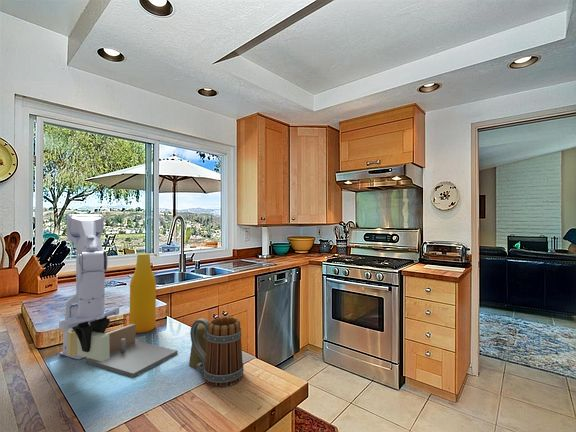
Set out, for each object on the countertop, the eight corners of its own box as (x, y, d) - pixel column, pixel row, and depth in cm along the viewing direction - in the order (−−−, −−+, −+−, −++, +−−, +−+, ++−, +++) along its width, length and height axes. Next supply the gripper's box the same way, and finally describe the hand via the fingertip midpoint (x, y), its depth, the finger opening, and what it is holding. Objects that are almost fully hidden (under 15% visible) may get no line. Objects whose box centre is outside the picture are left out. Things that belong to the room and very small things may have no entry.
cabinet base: (85, 362, 90) (86, 338, 90) (133, 343, 104) (133, 322, 105) (133, 377, 82) (133, 351, 82) (177, 353, 96) (177, 331, 96)
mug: (250, 371, 85) (250, 317, 85) (231, 391, 75) (231, 330, 75) (202, 362, 90) (203, 311, 90) (179, 380, 80) (179, 323, 81)
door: (64, 354, 81) (64, 331, 81) (79, 348, 85) (79, 326, 85) (98, 363, 76) (98, 338, 76) (113, 356, 79) (113, 333, 79)
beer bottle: (159, 328, 118) (160, 254, 119) (135, 335, 111) (136, 256, 112) (149, 323, 124) (150, 252, 125) (125, 329, 118) (126, 254, 118)
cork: (204, 368, 86) (204, 329, 87) (184, 366, 88) (185, 328, 88) (213, 359, 92) (213, 323, 93) (195, 357, 94) (195, 321, 94)
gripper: (72, 306, 72) (71, 364, 72) (127, 292, 85) (126, 341, 85) (54, 302, 75) (53, 358, 74) (110, 290, 88) (109, 337, 88)
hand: (90, 349), depth 80 cm, fingers closed on door, 2 cm apart
